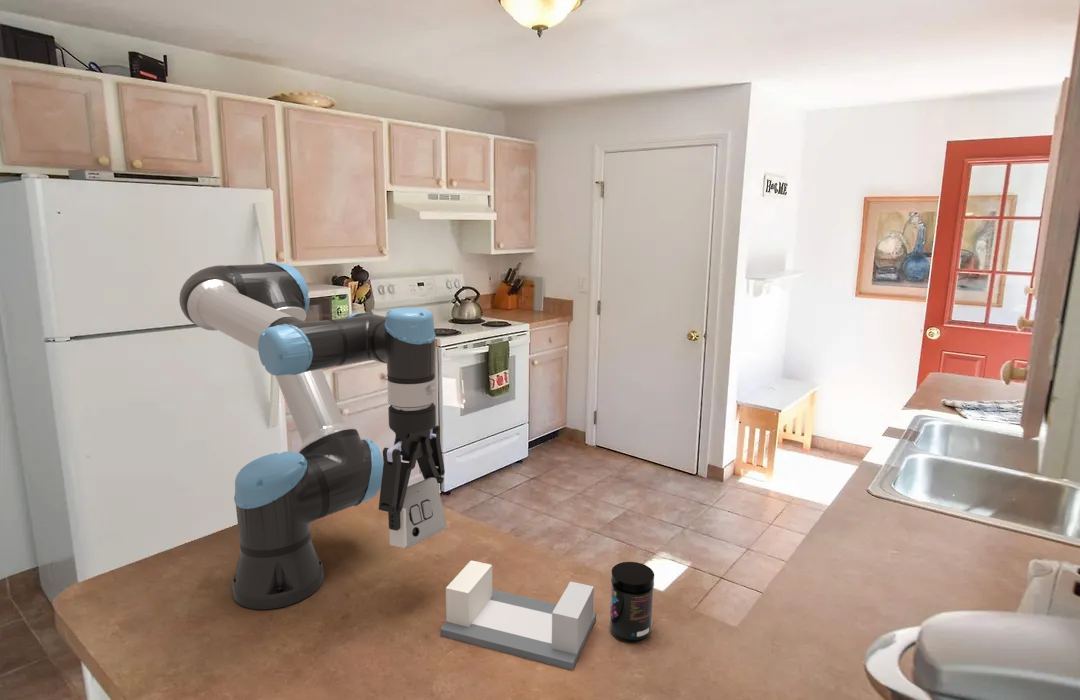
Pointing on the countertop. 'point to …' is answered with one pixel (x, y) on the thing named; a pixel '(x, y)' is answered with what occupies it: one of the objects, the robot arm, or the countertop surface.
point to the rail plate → (518, 618)
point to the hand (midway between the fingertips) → (415, 531)
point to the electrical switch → (423, 511)
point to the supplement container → (631, 601)
